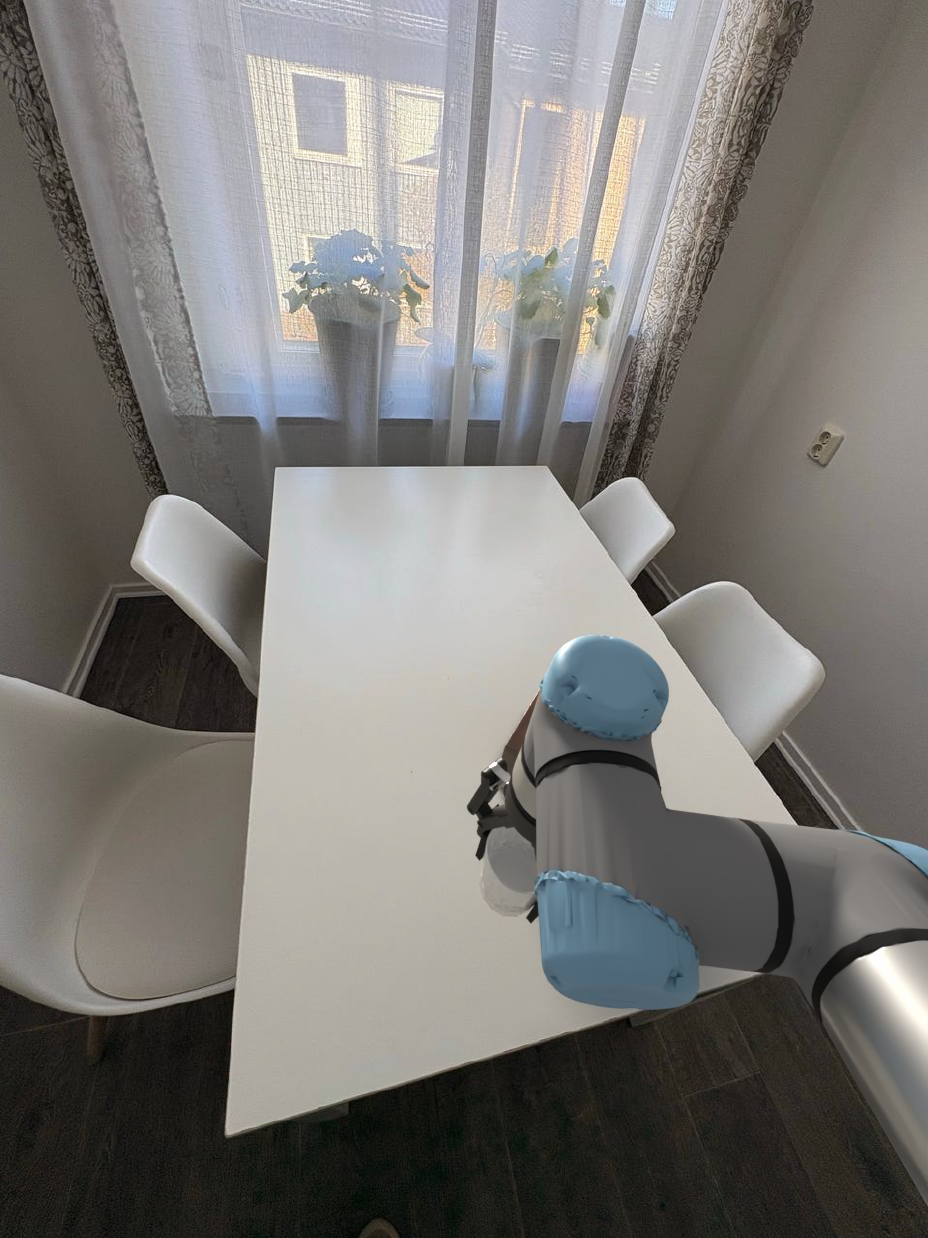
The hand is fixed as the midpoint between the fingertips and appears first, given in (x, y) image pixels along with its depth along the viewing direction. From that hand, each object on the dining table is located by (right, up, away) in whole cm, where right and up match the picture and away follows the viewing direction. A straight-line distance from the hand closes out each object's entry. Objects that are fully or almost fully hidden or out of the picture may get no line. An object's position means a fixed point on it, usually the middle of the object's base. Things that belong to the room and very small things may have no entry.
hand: (510, 880), depth 58 cm
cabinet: (+9, +6, +21) cm, 23 cm away
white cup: (0, -1, +1) cm, 2 cm away
